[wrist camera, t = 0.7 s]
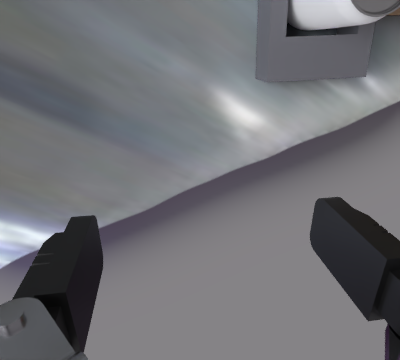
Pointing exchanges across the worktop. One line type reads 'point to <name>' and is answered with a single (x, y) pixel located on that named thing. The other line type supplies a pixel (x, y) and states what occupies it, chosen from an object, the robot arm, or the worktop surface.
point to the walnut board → (396, 12)
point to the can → (337, 12)
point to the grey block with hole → (308, 49)
